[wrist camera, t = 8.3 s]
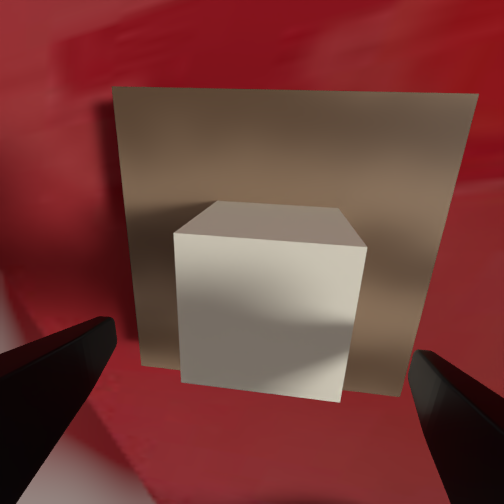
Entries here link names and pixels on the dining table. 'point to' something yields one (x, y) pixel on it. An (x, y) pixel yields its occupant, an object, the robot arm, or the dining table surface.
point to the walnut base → (295, 194)
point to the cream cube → (267, 298)
